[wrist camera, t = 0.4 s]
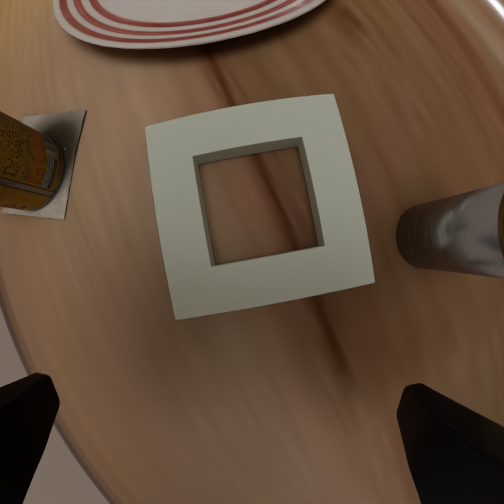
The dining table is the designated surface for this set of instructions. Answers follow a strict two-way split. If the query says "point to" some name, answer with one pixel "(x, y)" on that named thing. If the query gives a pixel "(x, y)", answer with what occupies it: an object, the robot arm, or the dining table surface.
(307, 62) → the dining table surface
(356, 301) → the dining table surface
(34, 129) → the condiment
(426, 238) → the jar with gold lid
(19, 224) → the dining table surface
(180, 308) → the white flat square frame
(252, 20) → the dinner plate
